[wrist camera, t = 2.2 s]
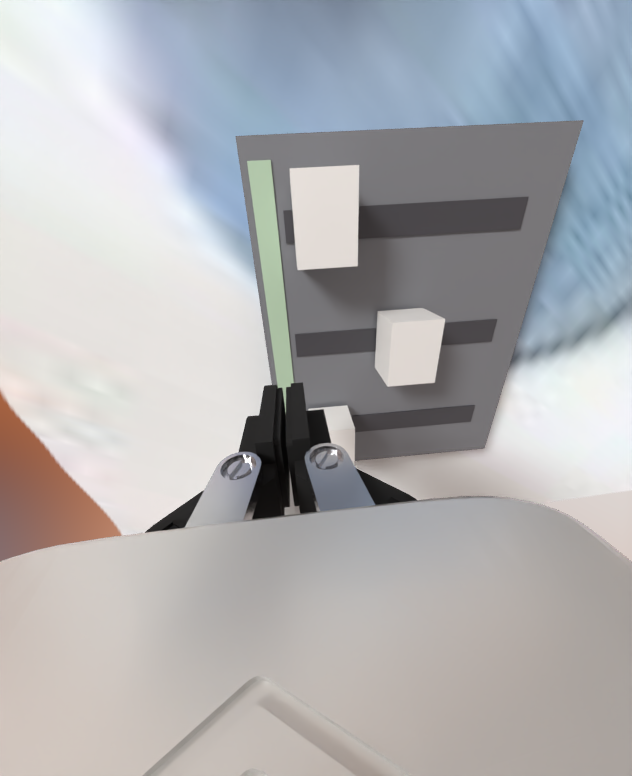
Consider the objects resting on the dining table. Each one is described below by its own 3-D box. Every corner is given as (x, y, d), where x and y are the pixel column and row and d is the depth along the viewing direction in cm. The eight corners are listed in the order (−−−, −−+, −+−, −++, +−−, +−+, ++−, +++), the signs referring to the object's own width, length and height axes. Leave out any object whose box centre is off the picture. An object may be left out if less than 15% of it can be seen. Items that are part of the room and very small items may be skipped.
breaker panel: (551, 133, 16) (658, 88, 11) (471, 434, 26) (509, 475, 22) (242, 148, 15) (220, 106, 11) (284, 452, 26) (283, 498, 21)
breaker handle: (422, 307, 18) (445, 319, 15) (415, 364, 20) (434, 382, 17) (377, 311, 18) (392, 322, 15) (374, 367, 20) (387, 386, 17)
